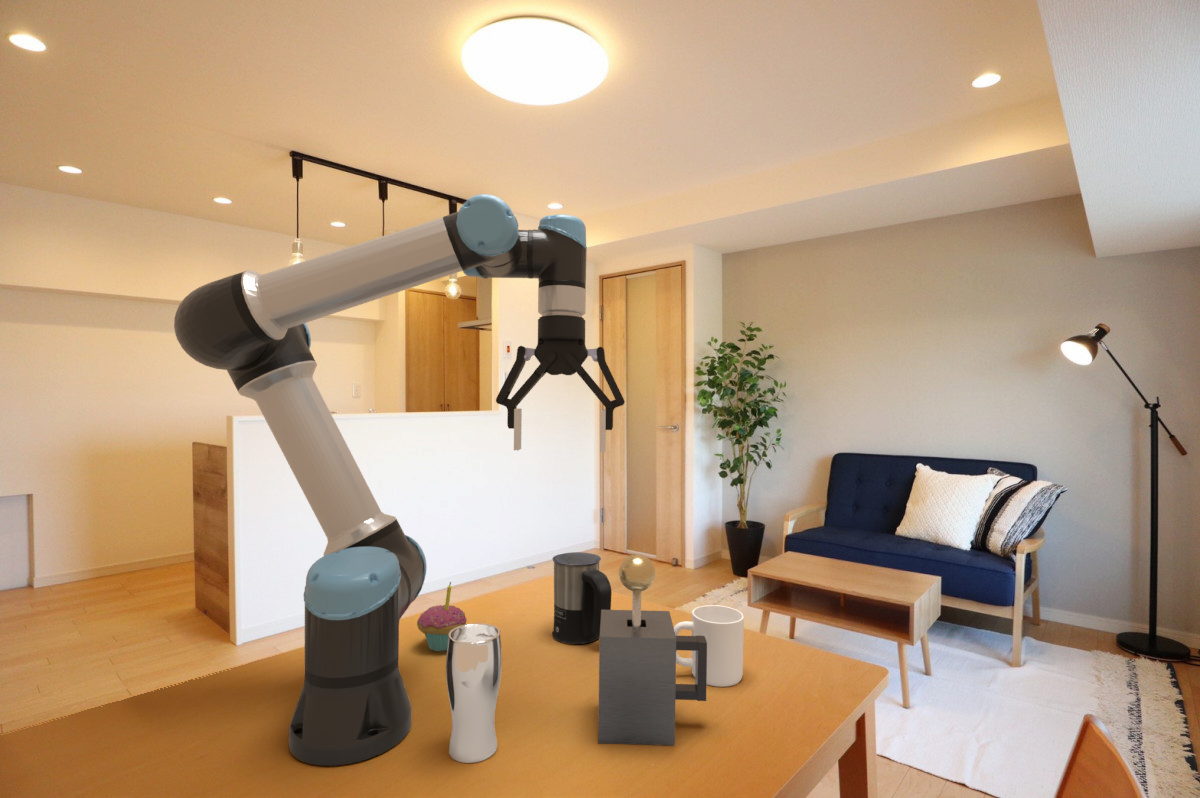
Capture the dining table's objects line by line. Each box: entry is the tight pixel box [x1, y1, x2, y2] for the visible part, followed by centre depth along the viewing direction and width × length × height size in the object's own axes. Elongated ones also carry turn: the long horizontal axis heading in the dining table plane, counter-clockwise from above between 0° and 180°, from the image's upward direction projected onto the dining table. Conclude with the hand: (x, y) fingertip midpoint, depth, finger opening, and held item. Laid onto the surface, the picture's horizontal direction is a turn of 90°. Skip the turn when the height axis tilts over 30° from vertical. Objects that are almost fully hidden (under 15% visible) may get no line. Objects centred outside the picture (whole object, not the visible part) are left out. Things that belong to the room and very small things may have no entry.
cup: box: [673, 604, 745, 688], centre depth 99 cm, size 8×12×10 cm
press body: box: [597, 609, 707, 746], centre depth 84 cm, size 15×10×14 cm
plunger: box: [618, 553, 656, 627], centre depth 84 cm, size 8×8×22 cm
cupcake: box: [416, 581, 467, 652], centre depth 109 cm, size 9×8×12 cm
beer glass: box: [445, 622, 503, 764], centre depth 77 cm, size 7×7×15 cm
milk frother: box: [551, 551, 612, 645], centre depth 116 cm, size 14×16×15 cm
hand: (560, 450), depth 96 cm, fingers open, 13 cm apart
